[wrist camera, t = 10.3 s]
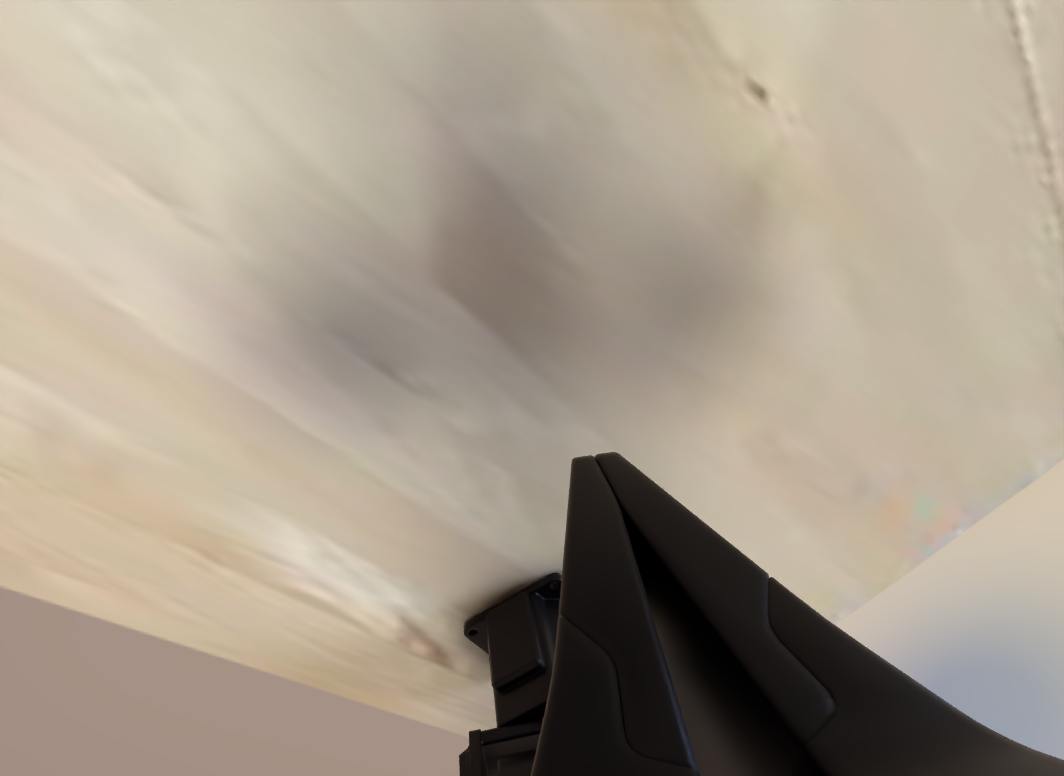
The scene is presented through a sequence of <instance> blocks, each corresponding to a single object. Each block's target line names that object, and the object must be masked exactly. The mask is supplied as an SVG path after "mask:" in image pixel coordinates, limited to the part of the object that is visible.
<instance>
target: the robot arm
mask: <svg viewBox="0 0 1064 776" xmlns="http://www.w3.org/2000/svg"><path fill="white" fill-rule="evenodd" d="M464 635H465V636H466V637H467V638H468V639H470V640H471V641H472V642H474V643H475V644H476V645H477V646H479V647H480V648H481V649H483V650H484V651H485V652H486V653H488V654H489V662H490V672H491V683H492V687H493V690H494V700H495V710H496V721H497V728H494V729H489V730H485V731H481V729H479V730H474V731H469V746H468V749H466V750H465V751H464V752H463V753H461V754H460V755H459V765H460V776H1064V760H1061V759H1059V758H1056V757H1053V756H1050V755H1047V754H1044V753H1041V752H1039V751H1036V750H1033V749H1031V748H1028V747H1026V746H1024V745H1022V744H1019V743H1017V742H1015V741H1013V740H1010V739H1008V738H1007V737H1004V736H1003V735H1001V734H999V733H997V732H995V731H993V730H991V729H989V728H987V727H986V726H984V725H982V724H980V723H978V722H977V721H975V720H973V719H972V718H970V717H969V716H967V715H966V714H964V713H962V712H961V711H959V710H958V709H956V708H955V707H953V706H952V705H950V704H949V703H947V702H946V701H944V700H943V699H942V698H940V697H939V696H937V695H936V694H934V693H933V692H931V691H930V690H928V689H927V688H925V687H924V686H922V685H921V684H919V683H918V682H916V681H915V680H914V679H912V678H911V677H909V676H907V675H906V674H905V673H903V672H902V671H900V670H899V669H897V668H896V667H894V666H893V665H891V664H890V663H888V662H887V661H886V660H884V659H883V658H881V657H880V656H878V655H877V654H875V653H874V652H872V651H871V650H869V649H868V648H867V647H865V646H864V645H862V644H861V643H859V642H858V641H856V640H855V639H853V638H852V637H851V636H849V635H848V634H846V633H845V632H843V631H842V630H841V629H840V628H838V627H837V626H835V625H834V624H832V623H831V622H830V621H828V620H827V619H825V618H824V617H823V616H821V615H820V614H819V613H818V612H816V611H815V610H814V609H812V608H811V607H810V606H808V605H807V604H806V603H805V602H803V601H802V600H801V599H799V598H798V597H797V596H795V595H794V594H793V593H792V592H790V591H789V590H788V589H787V588H785V587H784V586H783V585H782V584H780V583H779V582H778V581H777V580H775V579H774V578H773V577H770V578H769V575H768V573H766V572H765V571H764V570H763V569H761V568H760V567H759V566H758V565H756V564H755V563H754V562H753V561H752V560H750V559H749V558H748V557H747V556H745V555H744V554H743V553H742V552H740V551H739V550H738V549H737V548H735V547H734V546H733V545H732V544H730V543H729V542H728V541H727V540H725V539H724V538H723V537H722V536H720V535H719V534H718V533H717V532H715V531H714V530H713V529H712V528H710V527H709V526H708V525H707V524H705V523H704V522H703V521H702V520H700V519H699V518H698V517H697V516H696V515H694V514H693V513H692V512H691V511H689V510H688V509H687V508H686V507H684V506H683V505H682V504H681V503H679V502H678V501H677V500H676V499H674V498H673V497H672V496H671V495H669V494H668V493H667V492H666V491H664V490H663V489H662V488H661V487H659V486H658V485H657V484H656V483H654V482H653V481H652V480H651V479H649V478H648V477H647V476H646V475H645V474H643V473H642V472H641V471H640V470H638V469H637V468H636V467H635V466H633V465H632V464H631V463H630V462H628V461H627V460H626V459H625V458H623V457H622V456H621V455H620V454H618V453H616V452H610V453H603V454H597V455H596V456H595V457H593V456H591V455H590V456H583V457H576V458H574V459H573V460H572V465H571V477H570V489H569V500H568V512H567V524H566V535H565V547H564V559H563V570H562V575H560V574H558V573H553V574H550V575H548V576H546V577H545V578H543V579H541V580H539V581H538V582H536V583H534V584H532V585H531V586H529V587H527V588H526V589H524V590H522V591H520V592H519V593H517V594H515V595H513V596H512V597H510V598H508V599H506V600H505V601H503V602H501V603H500V604H498V605H496V606H494V607H493V608H491V609H489V610H487V611H486V612H484V613H482V614H480V615H479V616H477V617H475V618H474V619H472V620H470V621H468V622H467V623H466V624H465V625H464Z"/></svg>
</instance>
